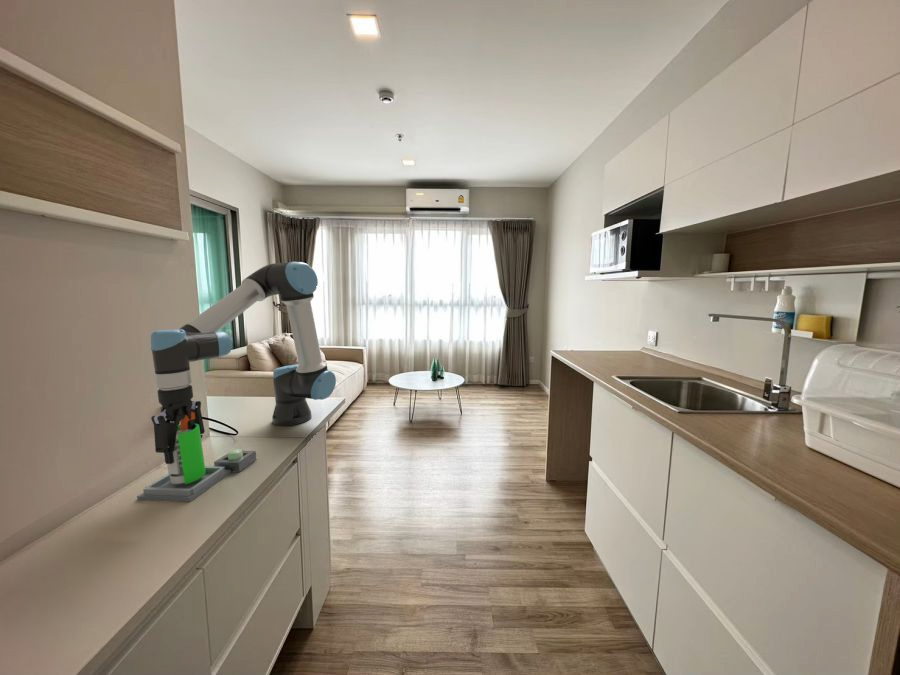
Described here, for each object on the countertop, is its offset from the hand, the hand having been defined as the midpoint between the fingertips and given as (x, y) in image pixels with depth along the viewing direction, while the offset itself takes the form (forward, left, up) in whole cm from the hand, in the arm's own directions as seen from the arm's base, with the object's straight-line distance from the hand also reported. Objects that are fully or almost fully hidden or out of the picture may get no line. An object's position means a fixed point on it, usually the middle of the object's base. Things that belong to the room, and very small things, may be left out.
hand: (185, 466), depth 101 cm
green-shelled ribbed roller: (-1, 0, -3) cm, 3 cm away
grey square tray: (0, 0, -5) cm, 5 cm away
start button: (-12, +6, -5) cm, 14 cm away
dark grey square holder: (-12, +6, -5) cm, 14 cm away
